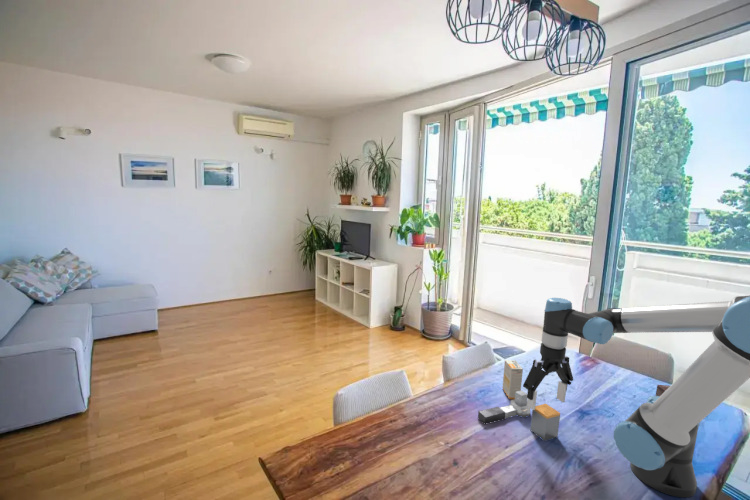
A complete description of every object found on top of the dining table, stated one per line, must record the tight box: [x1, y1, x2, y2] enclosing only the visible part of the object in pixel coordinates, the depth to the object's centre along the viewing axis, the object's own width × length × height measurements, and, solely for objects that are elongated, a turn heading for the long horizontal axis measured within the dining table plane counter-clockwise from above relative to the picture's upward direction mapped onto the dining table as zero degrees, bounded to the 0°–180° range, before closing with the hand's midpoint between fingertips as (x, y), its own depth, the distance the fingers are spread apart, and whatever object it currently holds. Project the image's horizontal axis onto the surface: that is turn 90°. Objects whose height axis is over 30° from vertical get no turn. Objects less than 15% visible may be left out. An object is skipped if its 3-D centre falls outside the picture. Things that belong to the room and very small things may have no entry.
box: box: [655, 384, 671, 397], centre depth 144 cm, size 6×6×7 cm
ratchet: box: [477, 390, 531, 425], centre depth 133 cm, size 22×7×8 cm, turn 113°
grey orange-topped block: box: [530, 403, 561, 442], centre depth 123 cm, size 6×6×9 cm
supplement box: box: [502, 359, 524, 400], centre depth 148 cm, size 8×5×13 cm, turn 179°
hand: (545, 403), depth 123 cm, fingers open, 13 cm apart
